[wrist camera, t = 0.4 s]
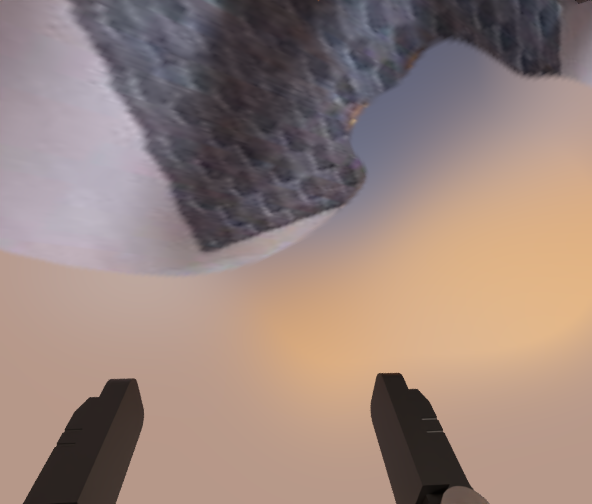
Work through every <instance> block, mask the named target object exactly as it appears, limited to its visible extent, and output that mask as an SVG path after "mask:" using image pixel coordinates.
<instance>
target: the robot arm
mask: <svg viewBox="0 0 592 504" xmlns="http://www.w3.org/2000/svg"><path fill="white" fill-rule="evenodd" d="M371 418H372V422H373V425H374V429H375V433H376V436H377V439H378V443H379V446H380V449H381V453H382V456H383V460H384V463H385V467H386V470H387V473H388V477H389V480H390V483H391V486H392V490H393V493H394V497H395V500H396V504H489V503H488V501H487V500H486V499H485V498H484V497H482V496H481V495H480V494H479V493H477V492H476V491H474V490H473V488H472V487H471V486H470V484H469V482H468V480H467V478H466V476H465V474H464V472H463V470H462V468H461V466H460V464H459V462H458V460H457V458H456V456H455V454H454V452H453V449H452V447H451V445H450V443H449V441H448V439H447V437H446V435H445V433H443V429H442V427H441V425H440V423H439V420H437V416H436V414H435V412H434V410H433V408H432V406H431V404H430V402H429V401H428V400H427V399H426V398H425V397H424V396H423V395H422V393H421V392H420V391H419V390H418V389H408V387H407V385H406V383H405V380H404V378H403V376H402V375H401V374H400V373H379V374H378V375H377V377H376V382H375V386H374V391H373V395H372V400H371ZM143 420H144V409H143V404H142V400H141V396H140V392H139V388H138V384H137V381H136V379H110V380H109V381H108V382H107V383H106V385H105V387H104V389H103V391H102V392H101V394H100V396H99V397H90V398H88V399H87V400H86V402H84V403H83V404H82V405H81V406H80V407H79V408H78V409H77V410H76V411H75V412H74V414H73V416H72V417H71V419H70V421H69V423H68V425H67V426H66V428H65V432H64V433H62V435H61V437H60V439H59V440H58V442H57V446H56V447H55V448H54V449H53V451H52V453H51V455H50V457H49V458H48V460H47V462H46V464H45V465H44V467H43V469H42V471H41V473H40V474H39V476H38V478H37V480H36V481H35V483H34V485H33V487H32V488H31V491H30V492H29V494H28V496H27V497H26V499H25V501H24V503H23V504H116V501H117V498H118V495H119V492H120V490H121V487H122V484H123V481H124V478H125V475H126V472H127V470H128V467H129V464H130V461H131V458H132V455H133V452H134V449H135V447H136V443H137V441H138V438H139V435H140V432H141V429H142V426H143Z"/></svg>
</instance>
